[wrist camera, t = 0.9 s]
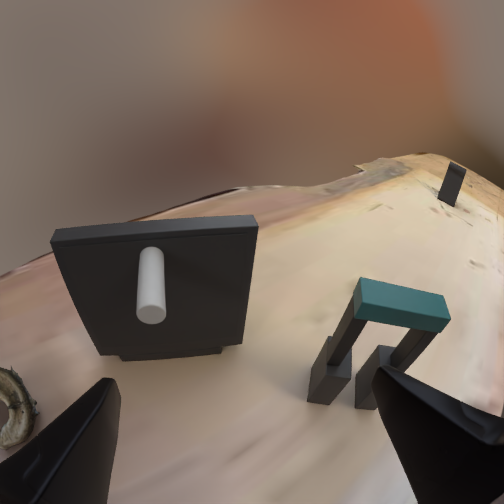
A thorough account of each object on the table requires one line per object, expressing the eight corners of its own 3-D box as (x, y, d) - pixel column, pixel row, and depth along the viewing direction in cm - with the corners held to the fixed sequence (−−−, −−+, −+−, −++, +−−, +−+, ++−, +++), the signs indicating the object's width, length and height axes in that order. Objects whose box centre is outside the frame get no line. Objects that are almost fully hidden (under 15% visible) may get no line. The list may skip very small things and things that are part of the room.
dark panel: (254, 394, 23) (285, 278, 15) (102, 407, 20) (25, 297, 11) (225, 294, 33) (234, 177, 24) (109, 303, 29) (78, 188, 21)
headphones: (374, 410, 22) (454, 328, 14) (306, 401, 23) (363, 311, 15) (374, 376, 25) (440, 287, 17) (311, 367, 26) (359, 268, 18)
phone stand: (453, 207, 68) (466, 172, 61) (437, 198, 71) (449, 163, 64) (454, 199, 74) (466, 167, 67) (439, 191, 77) (450, 159, 70)
